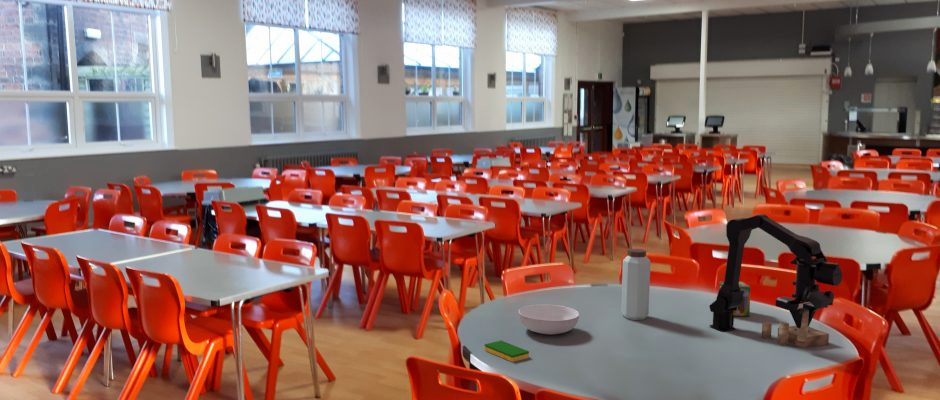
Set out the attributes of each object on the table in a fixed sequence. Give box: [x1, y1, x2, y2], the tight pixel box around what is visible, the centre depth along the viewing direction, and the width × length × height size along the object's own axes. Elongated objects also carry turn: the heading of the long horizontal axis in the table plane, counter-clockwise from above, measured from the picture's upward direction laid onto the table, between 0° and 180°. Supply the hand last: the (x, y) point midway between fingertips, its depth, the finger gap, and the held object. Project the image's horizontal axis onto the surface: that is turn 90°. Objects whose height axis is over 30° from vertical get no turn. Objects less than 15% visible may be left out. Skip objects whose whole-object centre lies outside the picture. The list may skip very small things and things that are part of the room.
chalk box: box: [718, 281, 751, 317], centre depth 281 cm, size 9×9×15 cm
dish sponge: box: [484, 339, 530, 363], centre depth 234 cm, size 7×14×2 cm, turn 38°
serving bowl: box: [518, 303, 580, 336], centre depth 258 cm, size 21×21×7 cm
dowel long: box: [797, 308, 809, 341], centre depth 238 cm, size 3×3×10 cm
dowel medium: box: [777, 321, 790, 346], centre depth 245 cm, size 3×3×7 cm
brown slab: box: [777, 325, 830, 349], centre depth 249 cm, size 11×11×4 cm
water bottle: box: [620, 248, 651, 321], centre depth 274 cm, size 10×10×25 cm
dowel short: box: [761, 321, 773, 340], centre depth 252 cm, size 3×3×5 cm
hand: (802, 327), depth 238 cm, fingers closed on dowel long, 3 cm apart
